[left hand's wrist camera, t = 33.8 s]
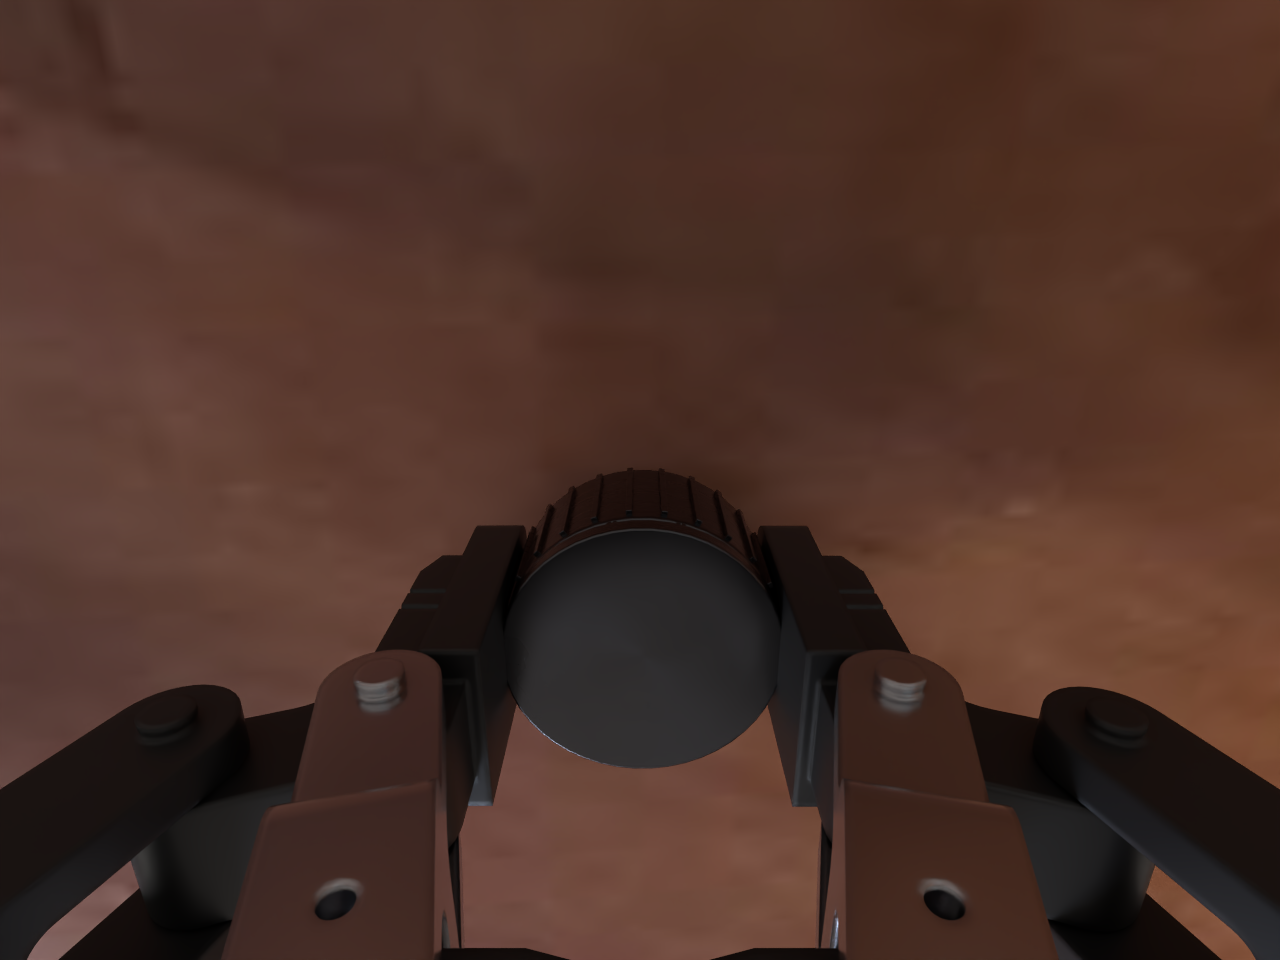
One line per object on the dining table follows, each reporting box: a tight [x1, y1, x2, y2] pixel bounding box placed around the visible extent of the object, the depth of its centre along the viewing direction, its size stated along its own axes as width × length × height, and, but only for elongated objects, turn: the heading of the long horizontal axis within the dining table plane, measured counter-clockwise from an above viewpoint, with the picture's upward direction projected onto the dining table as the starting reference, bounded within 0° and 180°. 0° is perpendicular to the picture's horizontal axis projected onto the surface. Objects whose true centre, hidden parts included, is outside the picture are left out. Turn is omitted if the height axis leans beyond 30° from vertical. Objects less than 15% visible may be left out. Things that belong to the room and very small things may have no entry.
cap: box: [503, 468, 781, 768], centre depth 11 cm, size 4×4×2 cm
